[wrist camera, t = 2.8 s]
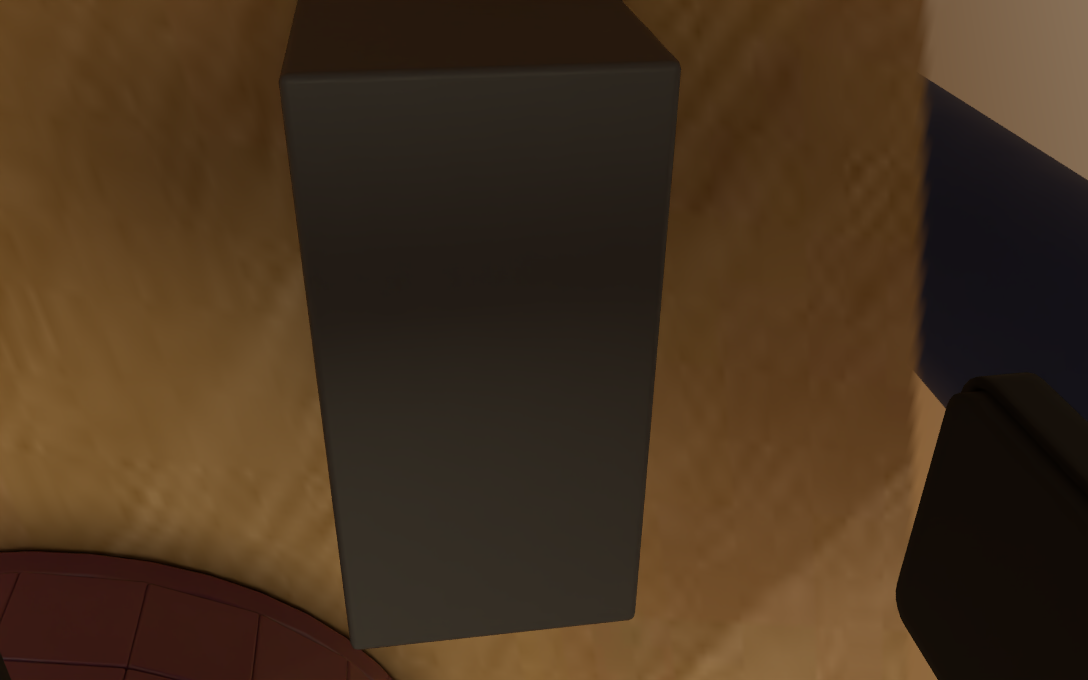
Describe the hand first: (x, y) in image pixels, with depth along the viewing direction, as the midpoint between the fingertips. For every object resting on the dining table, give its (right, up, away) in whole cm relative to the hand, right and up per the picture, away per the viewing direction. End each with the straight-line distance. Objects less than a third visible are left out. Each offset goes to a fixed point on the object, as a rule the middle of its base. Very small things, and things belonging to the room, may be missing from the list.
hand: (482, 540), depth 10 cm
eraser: (-1, +4, +6) cm, 8 cm away
